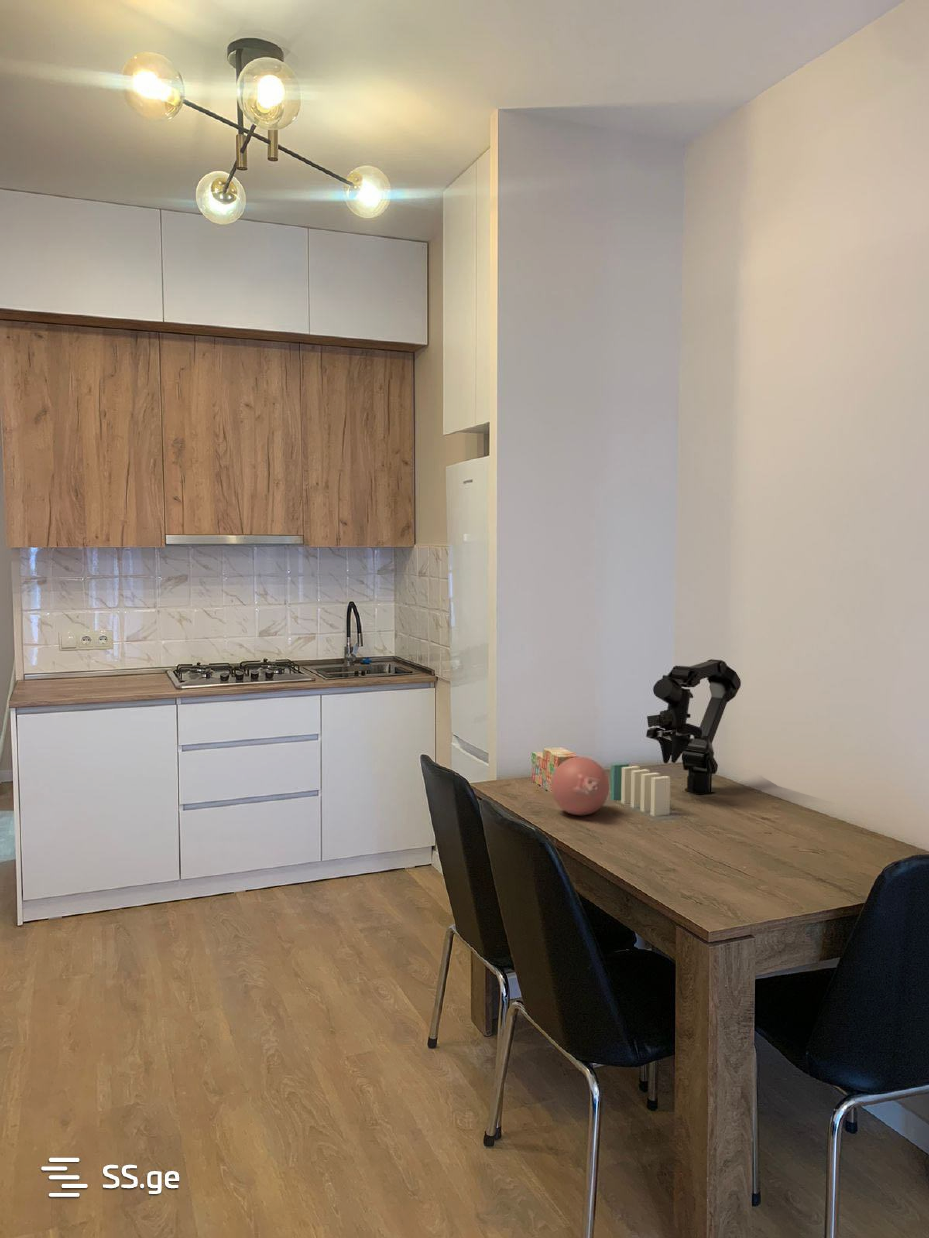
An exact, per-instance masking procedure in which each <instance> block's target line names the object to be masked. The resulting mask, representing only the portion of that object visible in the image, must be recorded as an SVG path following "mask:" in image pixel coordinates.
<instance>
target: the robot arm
mask: <svg viewBox="0 0 929 1238" xmlns="http://www.w3.org/2000/svg"><path fill="white" fill-rule="evenodd" d="M703 679H706V680H707V682H708V683H709V692H710V700H709V702H708V704H707V707H706V709H705V712H704V715H703V717H702V720H701V723H700V725H699V726H698V725H697V726H696V725H694V724H691V723H688V722H687V721H688V719H691V714H690V713H689V706H690V702H691V701H690V700H691V699H693V698H694V695H693V693H692V692H691V689H690V688H696V686H698V685H699V684H700V683H701V680H703ZM741 685H742V682H741V678H740V677H739V675H738V673H737V672H736V671H735V669H732V668H731V667H730V666H728V664H727V663H726V661H724V660H721V659H711V658H710V659H708V660H705V661H704V662H699V663H696V664H693V665H691V666H689V665H688V666H687V665H675V666H673V667H672V669H671V670H670V671H669V673H668V674H663V675H662V677H661V678H660V679H659V680H657V681H656V682H655V684H654V685H653V688H652V691H653V694H654V696H655V697H656V698H657V699H659V700H661V701H663V702H664V703H666V704H667V709H665V710H661V711H660V712H659V714H654V715H653V714H652V715H646V719H647V727H648V728H649V729H647V730H646V734H645V736H646V738H648V739H650V740H654V741H657V742H658V744H659V745H660V751H661V756H662V761H663V763H664V764H666V765H667V764H669V761H670V762H671V763H672V764H676V762H677V761H678V760H679V758H680V757H681V761H682V766H683V767H682V768H683V770H684V771H688V775H687V777H686V778H687V780H686V787H685V788H684V791H686V790H687V791H686V792H689V793H692V794H695V795H707V794H715V793H716V791H715V790H713V789H712V784H713V783H712V782H713V781H712V780H713V775H716V773H718V768H719V764H718V763H717V761H716V758H714V757H715V756H714V755H715V751H714V747H713V741H714V738H715V737H716V733H717V731H718V728H719V725H720V723H721V720H722V718H723V715H724V712H725V708H726V706H727V704H728V703H729V702H730V701H731V700H733V699H734V698H735V697H736V695H737V693H738V692H739V690H740V688H741ZM692 736H693V737H692Z"/></svg>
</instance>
